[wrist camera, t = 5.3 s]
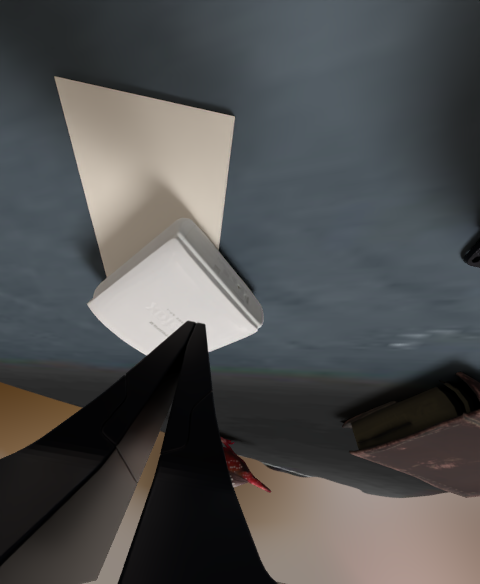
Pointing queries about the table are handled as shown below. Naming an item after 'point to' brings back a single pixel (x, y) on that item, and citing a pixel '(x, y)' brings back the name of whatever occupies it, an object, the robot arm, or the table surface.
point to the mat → (145, 165)
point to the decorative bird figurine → (239, 468)
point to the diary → (426, 437)
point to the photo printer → (176, 292)
